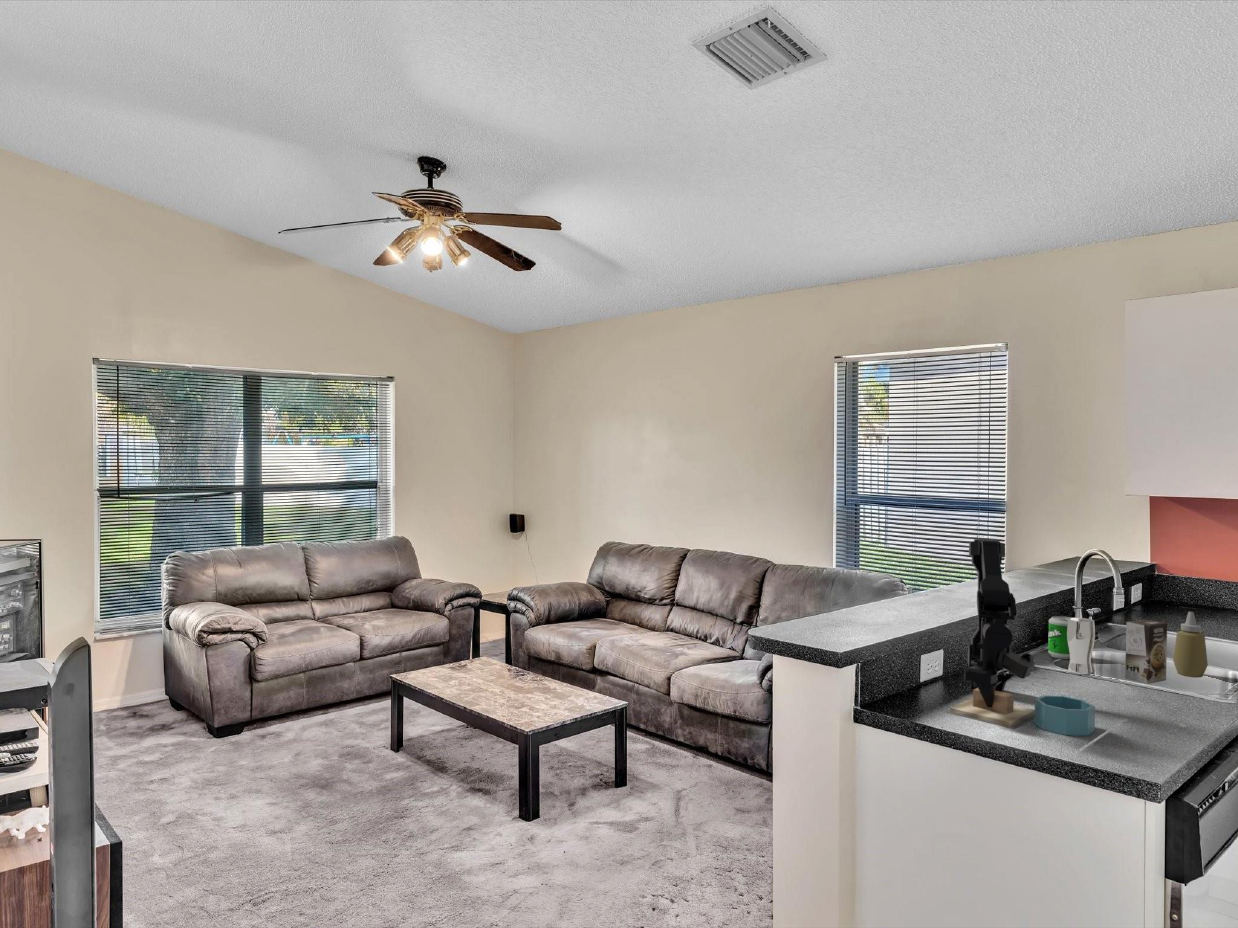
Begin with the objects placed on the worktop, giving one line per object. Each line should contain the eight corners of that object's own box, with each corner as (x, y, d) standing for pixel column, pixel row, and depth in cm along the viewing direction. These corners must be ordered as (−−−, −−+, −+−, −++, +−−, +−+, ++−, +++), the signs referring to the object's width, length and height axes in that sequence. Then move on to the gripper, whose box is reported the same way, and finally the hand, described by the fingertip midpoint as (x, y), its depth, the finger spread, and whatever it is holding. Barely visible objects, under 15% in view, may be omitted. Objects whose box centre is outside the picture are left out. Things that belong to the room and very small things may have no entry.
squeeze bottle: (1165, 671, 233) (1166, 609, 233) (1192, 671, 234) (1193, 609, 234) (1187, 679, 225) (1188, 614, 225) (1214, 679, 226) (1216, 614, 226)
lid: (950, 711, 193) (950, 691, 193) (976, 700, 202) (976, 680, 202) (1011, 726, 183) (1011, 704, 183) (1035, 713, 192) (1035, 693, 192)
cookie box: (1148, 684, 220) (1149, 625, 220) (1124, 678, 225) (1125, 620, 225) (1167, 680, 224) (1168, 622, 224) (1143, 674, 230) (1144, 618, 229)
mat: (944, 713, 193) (944, 711, 193) (974, 700, 204) (974, 698, 204) (1014, 730, 181) (1014, 729, 181) (1041, 715, 192) (1041, 714, 192)
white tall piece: (1098, 675, 228) (1099, 622, 228) (1071, 674, 230) (1072, 621, 229) (1089, 669, 235) (1089, 617, 235) (1062, 667, 236) (1063, 616, 236)
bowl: (1028, 728, 183) (1029, 701, 183) (1047, 717, 191) (1047, 692, 191) (1082, 741, 175) (1082, 713, 175) (1099, 729, 182) (1099, 703, 182)
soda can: (1073, 654, 252) (1073, 616, 252) (1078, 660, 245) (1078, 621, 245) (1046, 652, 255) (1046, 614, 255) (1050, 658, 248) (1050, 619, 247)
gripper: (1013, 652, 180) (1011, 722, 180) (1045, 640, 193) (1044, 705, 193) (963, 643, 188) (962, 710, 188) (997, 632, 201) (996, 694, 201)
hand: (993, 705), depth 192 cm, fingers closed on lid, 3 cm apart
